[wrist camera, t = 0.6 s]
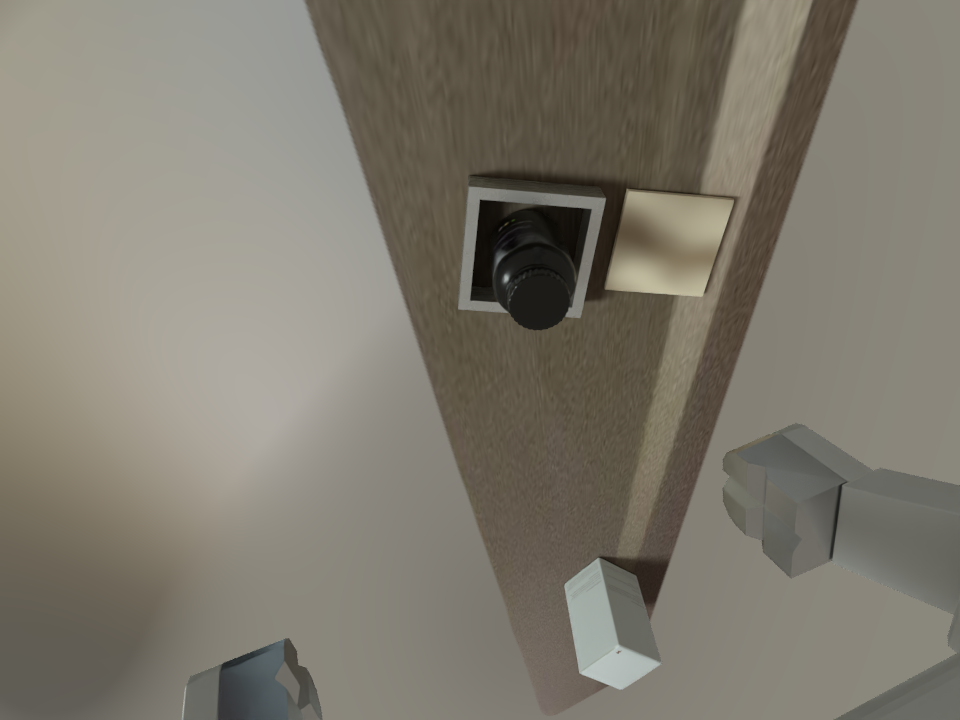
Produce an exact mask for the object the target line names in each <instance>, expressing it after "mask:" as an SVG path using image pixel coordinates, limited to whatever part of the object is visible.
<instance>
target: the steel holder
mask: <svg viewBox="0 0 960 720" xmlns="http://www.w3.org/2000/svg"><path fill="white" fill-rule="evenodd" d="M480 200H492V201H504V202H516V203H528V204H540V205H551V206H563V207H575V208H584V209H583V215H582V220H581V225H580V230H579V235H578V240H577V245H576V250H575V256H574V261H573V265H574V268H575V272H576V286H575V290H574V293H573V295H572V297H571V300H570V307H569V308H568V312H567V313H566V316H565V317H575V318H581V314H582V309H583V304H584V299H585V295H586V290H587V285H588V281H589V276H590V271H591V267H592V262H593V257H594V253H595V248H596V243H597V239H598V234H599V229H600V225H601V220H602V215H603V211H604V206H605V201H606V197H605V196H604V194H603V192H602V191H601V189H600V187H594V186H583V185H571V184H560V183H548V182H537V181H526V180H514V179H503V178H491V177H480V176H468V187H467V199H466V210H465V222H464V234H463V245H462V257H461V269H460V280H459V292H458V309H461V310H476V311H490V312H504V313H509V312H507V311H506V310H505V309H504V308H503V307H502V306H501V305H500V304H499V302H498V301H497V299H496V296H495V294H494V290H493V287H481V286H471V285H472V275H473V265H474V255H475V244H476V234H477V224H478V214H479V204H480Z"/></svg>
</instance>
